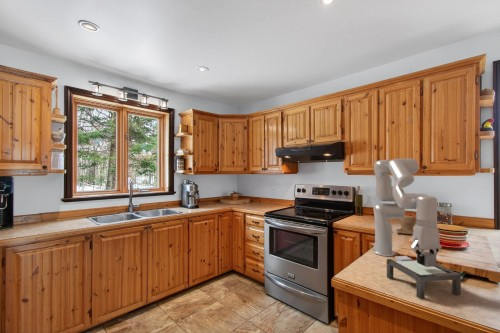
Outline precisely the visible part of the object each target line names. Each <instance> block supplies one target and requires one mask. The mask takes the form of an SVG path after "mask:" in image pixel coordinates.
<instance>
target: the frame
mask: <svg viewBox="0 0 500 333" xmlns="http://www.w3.org/2000/svg"><path fill="white" fill-rule="evenodd" d="M438 264H439V263H438ZM438 264H437V263H436V266H434V267H436V268H438V269H440V270H442V271H444V272H447V273H441V274H427V275H420V274H418V273H416V272H414V271H412V270H410V269H408V268H406V267H405V266H403V265H401V264H399V263H397V261H395V260H393V259H391V258H387V259H386V278H387V279H389V280H394V268H395V269H396V270H398V271H399V272H401V273H403V274H405V275H407V276H408V277H410V278H412V279H414V280H416V285H415V286H416V292H415V294H416V295H415V296H416V298H418V299H420V300H424V299H425V298H426V293H425V292H426V291H425V290H426V283H428V282H429V283H430V282H441V281H442V282H443V281H451V287H452V288H451V294H453V295H454V296H457V297H458V296H461V295H462V286H461V285H462V280H461V274H459V273H456V272H454V271H452V270H450V269H447V268H445V267H443V266H440V265H438Z"/></svg>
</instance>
